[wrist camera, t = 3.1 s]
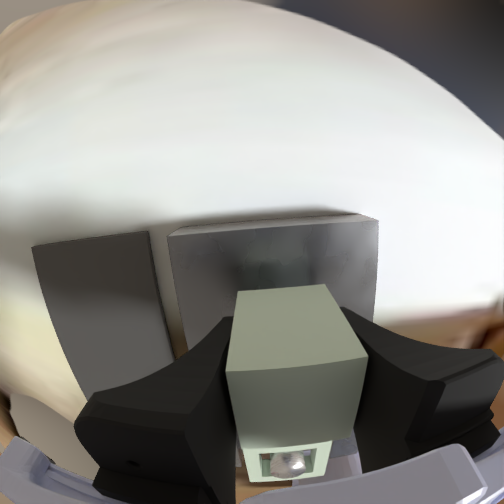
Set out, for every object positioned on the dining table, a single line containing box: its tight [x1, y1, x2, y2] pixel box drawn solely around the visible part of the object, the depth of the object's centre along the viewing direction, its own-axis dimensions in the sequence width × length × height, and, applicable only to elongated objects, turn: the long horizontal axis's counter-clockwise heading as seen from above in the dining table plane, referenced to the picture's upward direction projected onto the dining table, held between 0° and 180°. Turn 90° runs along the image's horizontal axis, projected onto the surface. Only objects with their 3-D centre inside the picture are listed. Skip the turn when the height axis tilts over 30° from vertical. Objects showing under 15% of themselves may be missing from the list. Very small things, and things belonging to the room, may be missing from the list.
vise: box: [167, 214, 378, 479], centre depth 13 cm, size 16×10×6 cm, turn 5°
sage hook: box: [225, 284, 368, 482], centre depth 10 cm, size 13×5×5 cm, turn 5°
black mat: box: [31, 231, 176, 401], centre depth 17 cm, size 16×10×1 cm, turn 5°
